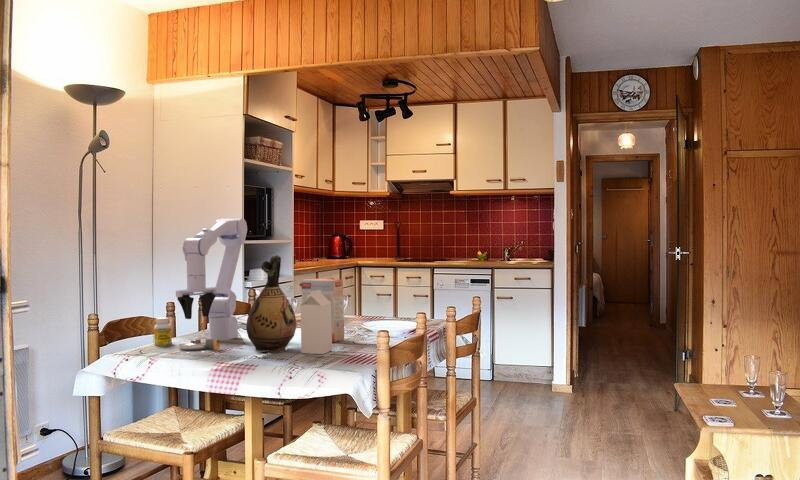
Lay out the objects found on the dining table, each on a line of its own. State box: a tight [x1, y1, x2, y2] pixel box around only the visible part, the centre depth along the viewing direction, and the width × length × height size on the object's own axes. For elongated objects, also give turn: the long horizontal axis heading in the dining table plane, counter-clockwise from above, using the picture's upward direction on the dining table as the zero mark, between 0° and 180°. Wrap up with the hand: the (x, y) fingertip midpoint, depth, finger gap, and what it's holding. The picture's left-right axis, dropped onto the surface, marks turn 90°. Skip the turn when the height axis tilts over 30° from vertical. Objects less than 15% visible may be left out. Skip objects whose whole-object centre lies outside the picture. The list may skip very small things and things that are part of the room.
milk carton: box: [300, 290, 333, 355], centre depth 207 cm, size 7×7×19 cm
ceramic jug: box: [245, 255, 297, 354], centre depth 211 cm, size 17×15×30 cm
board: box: [150, 342, 241, 357], centre depth 213 cm, size 20×20×1 cm
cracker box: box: [301, 278, 345, 343], centre depth 229 cm, size 14×6×21 cm, turn 58°
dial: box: [178, 338, 221, 351], centre depth 212 cm, size 15×10×3 cm
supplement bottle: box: [153, 317, 173, 347], centre depth 221 cm, size 5×5×10 cm
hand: (197, 317), depth 214 cm, fingers open, 6 cm apart
